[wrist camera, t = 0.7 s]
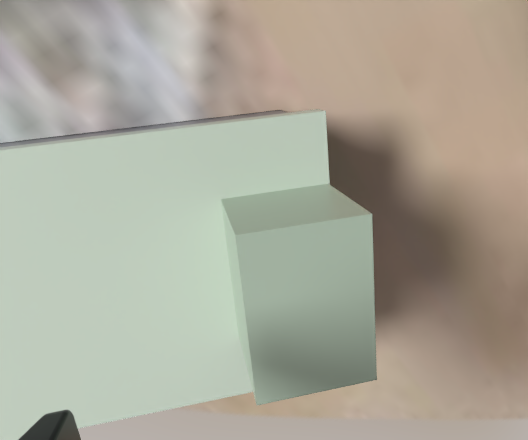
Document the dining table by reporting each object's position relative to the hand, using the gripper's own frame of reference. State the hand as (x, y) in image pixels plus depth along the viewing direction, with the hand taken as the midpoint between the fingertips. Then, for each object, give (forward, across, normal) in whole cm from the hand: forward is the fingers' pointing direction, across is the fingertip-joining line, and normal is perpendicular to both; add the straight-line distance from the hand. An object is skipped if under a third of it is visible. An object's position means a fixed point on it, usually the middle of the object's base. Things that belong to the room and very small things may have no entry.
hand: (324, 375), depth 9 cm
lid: (+8, +4, +1) cm, 9 cm away
